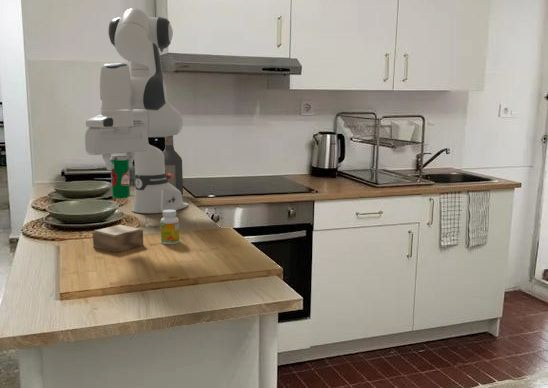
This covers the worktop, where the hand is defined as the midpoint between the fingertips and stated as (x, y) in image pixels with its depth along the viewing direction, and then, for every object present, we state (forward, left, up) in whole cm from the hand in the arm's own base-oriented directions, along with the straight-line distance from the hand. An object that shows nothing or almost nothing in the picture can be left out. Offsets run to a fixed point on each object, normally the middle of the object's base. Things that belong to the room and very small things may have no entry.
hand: (119, 168), depth 160 cm
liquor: (-66, -48, -23) cm, 84 cm away
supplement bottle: (-10, +9, -23) cm, 27 cm away
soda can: (0, 0, -9) cm, 9 cm away
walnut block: (+2, 0, -23) cm, 23 cm away
